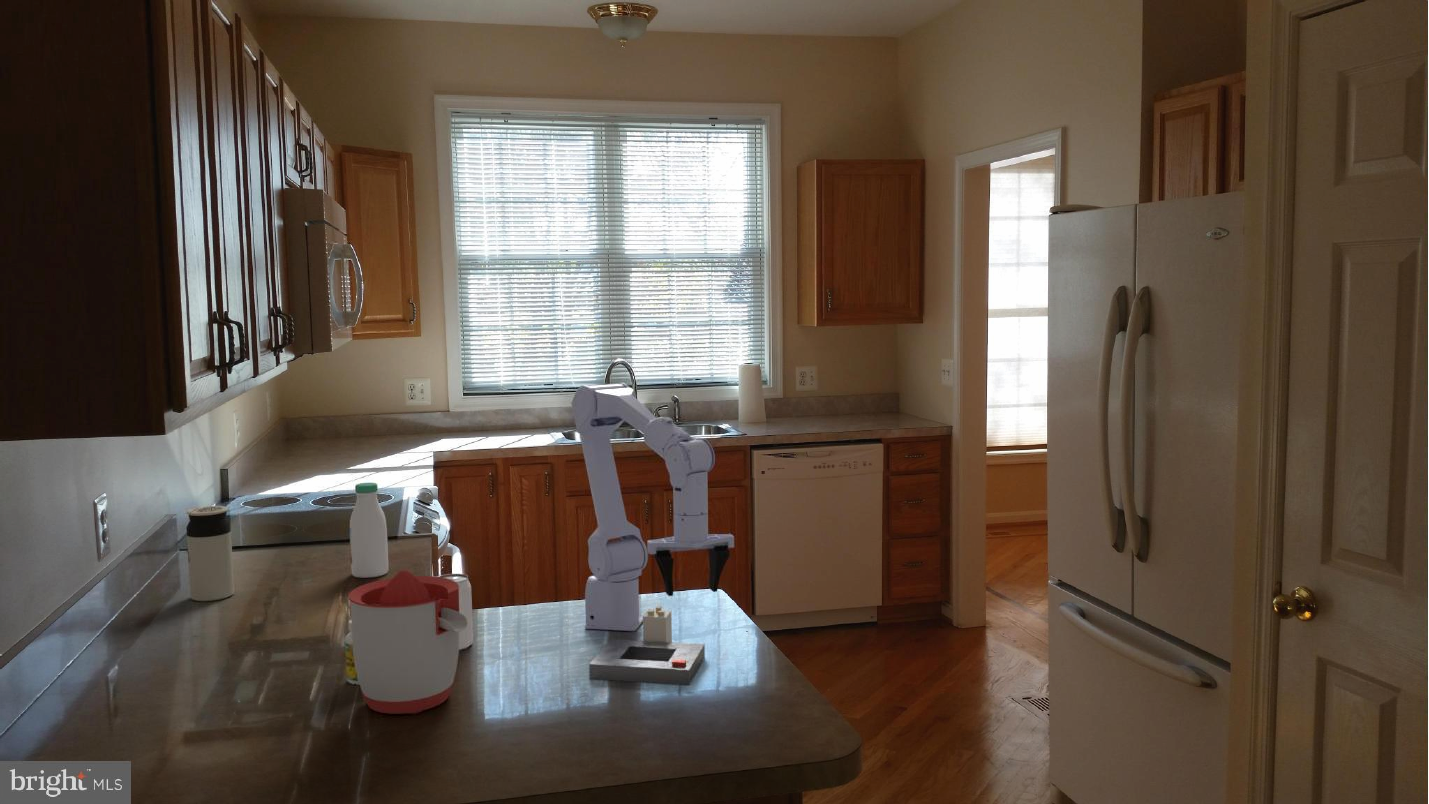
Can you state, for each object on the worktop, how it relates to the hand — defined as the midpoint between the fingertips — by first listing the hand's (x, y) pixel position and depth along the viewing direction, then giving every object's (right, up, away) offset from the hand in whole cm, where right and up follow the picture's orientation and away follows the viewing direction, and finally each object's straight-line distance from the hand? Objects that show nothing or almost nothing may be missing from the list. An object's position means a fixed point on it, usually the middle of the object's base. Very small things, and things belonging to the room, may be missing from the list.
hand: (691, 592), depth 171 cm
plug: (-6, -10, +4) cm, 12 cm away
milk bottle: (-72, -6, +53) cm, 89 cm away
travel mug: (-98, -8, +37) cm, 105 cm away
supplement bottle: (-51, -12, -10) cm, 54 cm away
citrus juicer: (-41, -13, -19) cm, 47 cm away
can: (-41, -10, +5) cm, 43 cm away
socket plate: (-7, -11, -6) cm, 15 cm away
